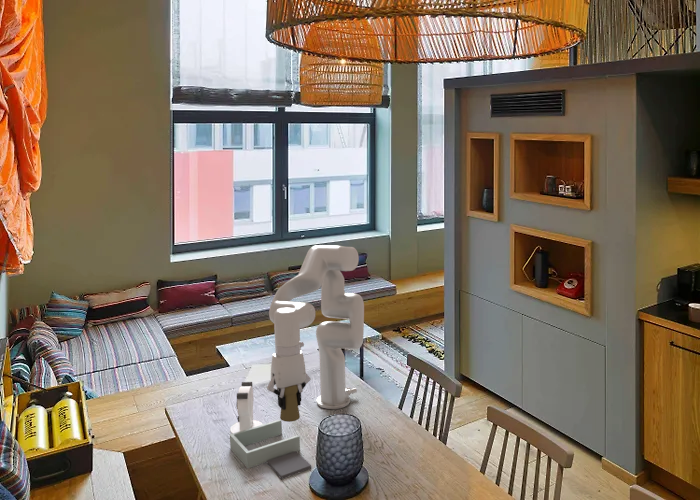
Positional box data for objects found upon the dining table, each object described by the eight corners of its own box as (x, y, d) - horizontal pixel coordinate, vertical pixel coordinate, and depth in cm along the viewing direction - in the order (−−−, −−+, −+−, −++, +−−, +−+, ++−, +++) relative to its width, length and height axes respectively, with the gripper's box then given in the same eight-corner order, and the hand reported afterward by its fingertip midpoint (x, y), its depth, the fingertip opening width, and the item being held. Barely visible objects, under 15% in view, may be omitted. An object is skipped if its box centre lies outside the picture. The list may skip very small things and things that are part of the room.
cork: (296, 422, 175) (295, 387, 173) (277, 420, 176) (276, 386, 174) (302, 413, 181) (301, 380, 179) (283, 412, 182) (282, 378, 180)
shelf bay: (280, 433, 198) (280, 419, 197) (300, 450, 186) (299, 436, 185) (230, 448, 188) (229, 434, 187) (247, 468, 176) (246, 453, 176)
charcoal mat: (295, 453, 184) (295, 451, 184) (311, 468, 176) (311, 465, 176) (267, 463, 179) (266, 460, 179) (281, 479, 171) (281, 475, 170)
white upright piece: (234, 420, 208) (231, 380, 205) (265, 419, 208) (263, 380, 205) (227, 437, 196) (224, 395, 193) (261, 436, 196) (258, 394, 193)
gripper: (306, 340, 182) (308, 395, 185) (256, 351, 173) (259, 408, 176) (318, 347, 176) (320, 403, 179) (267, 358, 167) (269, 417, 170)
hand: (289, 405), depth 178 cm, fingers closed on cork, 4 cm apart
